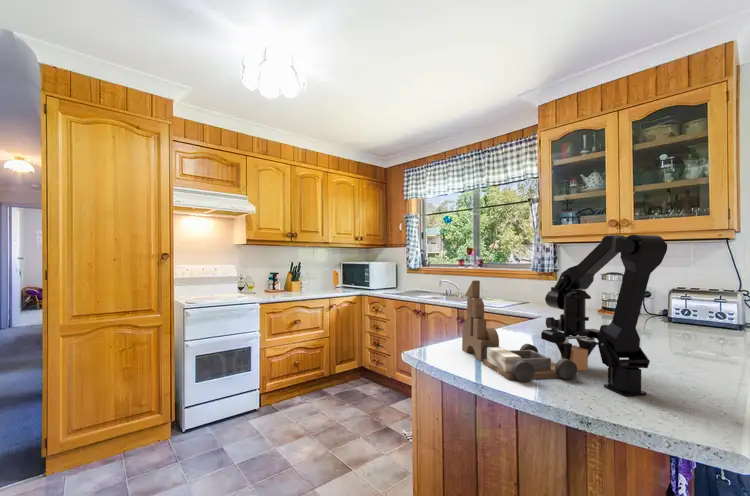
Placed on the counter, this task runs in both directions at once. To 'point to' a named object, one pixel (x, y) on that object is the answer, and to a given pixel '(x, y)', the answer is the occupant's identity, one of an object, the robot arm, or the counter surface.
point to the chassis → (526, 364)
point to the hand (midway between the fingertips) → (574, 364)
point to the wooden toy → (477, 324)
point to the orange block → (579, 357)
